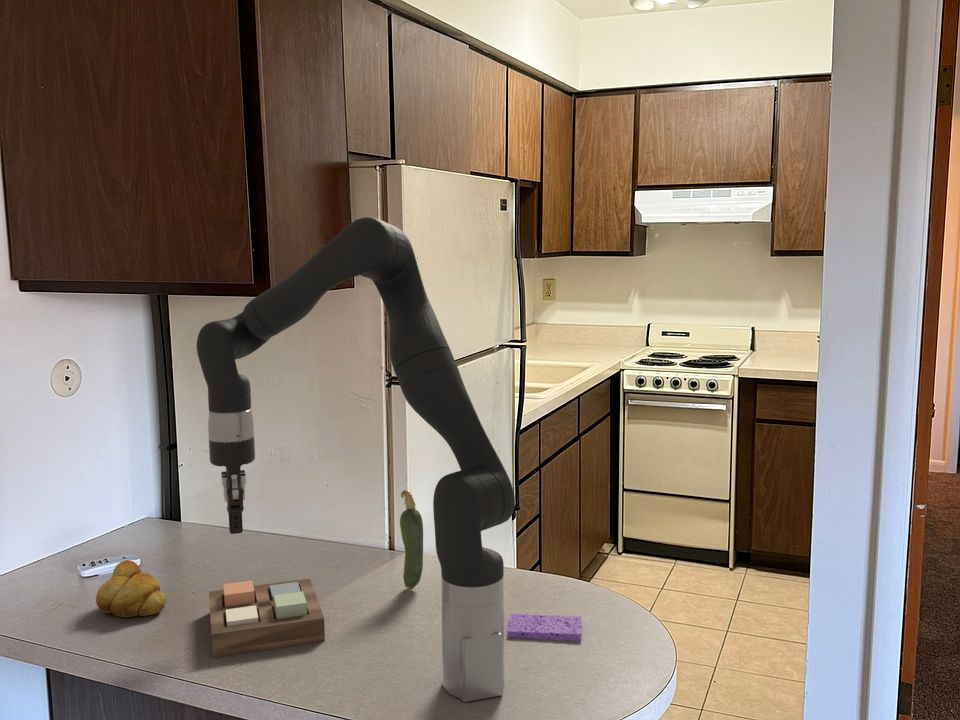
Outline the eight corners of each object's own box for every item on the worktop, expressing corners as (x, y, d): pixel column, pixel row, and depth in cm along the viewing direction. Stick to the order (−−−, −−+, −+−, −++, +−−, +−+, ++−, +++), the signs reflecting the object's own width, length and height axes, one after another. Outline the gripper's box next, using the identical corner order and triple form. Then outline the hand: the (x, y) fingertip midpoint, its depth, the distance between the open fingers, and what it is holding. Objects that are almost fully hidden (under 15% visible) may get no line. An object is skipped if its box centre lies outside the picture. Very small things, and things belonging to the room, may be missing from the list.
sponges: (581, 644, 142) (581, 633, 142) (506, 640, 144) (506, 629, 143) (581, 625, 149) (582, 615, 149) (510, 622, 151) (510, 612, 150)
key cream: (258, 634, 142) (258, 617, 141) (227, 639, 140) (226, 621, 140) (256, 621, 146) (256, 605, 146) (226, 626, 145) (225, 609, 144)
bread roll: (178, 608, 156) (176, 566, 155) (134, 629, 148) (131, 585, 147) (131, 594, 162) (128, 554, 161) (86, 614, 154) (82, 572, 153)
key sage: (307, 619, 144) (306, 602, 144) (277, 623, 143) (276, 606, 142) (303, 607, 149) (302, 591, 148) (274, 611, 147) (273, 595, 147)
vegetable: (426, 586, 165) (424, 486, 162) (422, 595, 161) (420, 493, 158) (403, 586, 165) (401, 486, 163) (399, 595, 161) (397, 492, 158)
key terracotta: (255, 607, 149) (254, 591, 149) (225, 611, 148) (224, 595, 147) (253, 596, 154) (252, 580, 153) (224, 600, 152) (223, 584, 152)
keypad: (324, 640, 143) (324, 617, 142) (212, 657, 137) (211, 634, 137) (310, 598, 160) (309, 578, 159) (210, 612, 154) (208, 591, 154)
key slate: (301, 608, 152) (301, 592, 151) (273, 612, 150) (272, 596, 150) (298, 597, 156) (297, 581, 156) (270, 601, 155) (269, 585, 154)
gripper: (256, 441, 141) (261, 542, 144) (251, 425, 154) (255, 518, 156) (209, 445, 139) (214, 547, 141) (207, 429, 151) (212, 522, 154)
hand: (236, 532), depth 149 cm, fingers closed
